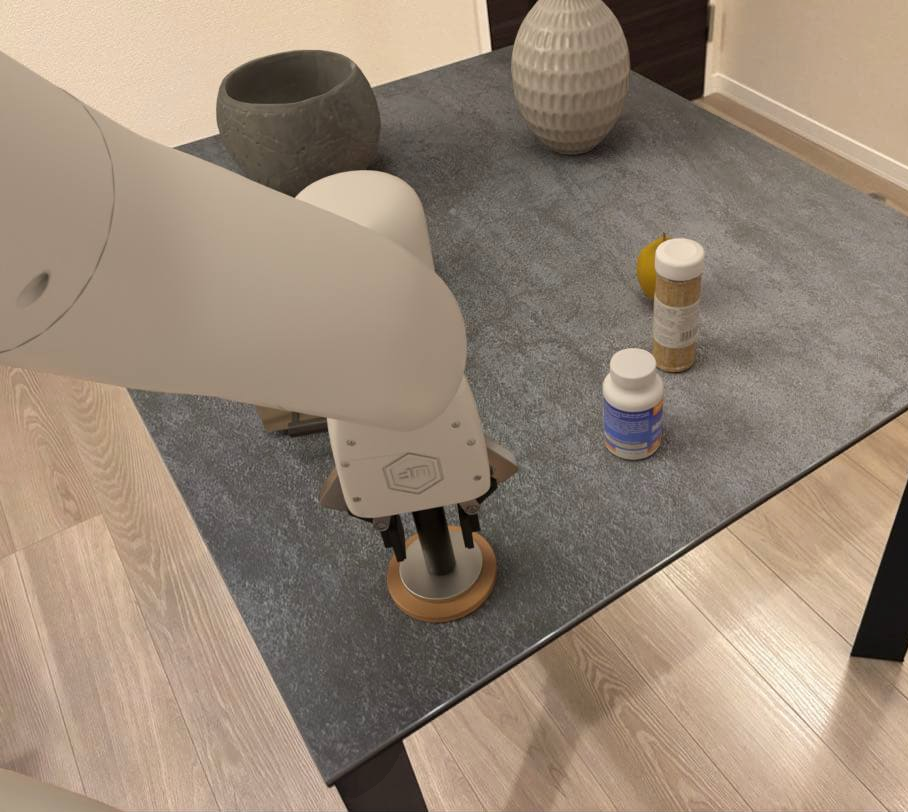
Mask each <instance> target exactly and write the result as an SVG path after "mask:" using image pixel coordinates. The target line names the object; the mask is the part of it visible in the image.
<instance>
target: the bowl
mask: <svg viewBox="0 0 908 812" xmlns="http://www.w3.org/2000/svg"><path fill="white" fill-rule="evenodd" d="M215 103H216V104H215V117H216V119H215V120H216V125H217V129H218V132H219V136H220V139H221V141H222V143H223V146H224V147H225V149H226V151H227V153H228V154H229V156H230V158H231V159H232V161H233V162H234V163H235V164H236V165H237V167H238V168H239V170H241V171H242V173H243V174H244V175H245V176H246V178H248V179H250V180H252V181H254V182H257V183H259V184H261V185H264V186H266V187H269V188H271V189H273V190H276V191H278V192H281V193H283V194H286V195H288V196H291V197H293V198H295V197H296V196H297V195H298V194H299V193H300V192H301V191H302V190H304V189H305V188H306V187H307V186H309V185H311V184H312V183H314V182H316V181H318V180H320V179H322V178H325V177H328V176H331V175H334V174H338V173H343V172H348V171H358V170H367V168H368V167H369V165H370V164H371V162H372V160H373V158H374V156H375V154H376V152H377V149H378V146H379V142H380V137H381V131H382V122H381V116H380V110H379V105H378V101H377V98H376V96H375V93H374V90H373V88H372V85H371V83H370V82H369V80H368V78H367V77H366V76H365V74H364V72H363V71H362V69H361V68H360V67H359V66H358V64H357V63H355V62H354V61H353V60H352V59H351V58H350V57H348V56H346V55H345V54H342V53H339V52H334V51H329V50H324V49H294V50H287V51H282V52H277V53H272V54H268V55H264V56H260V57H257V58H254V59H252V60H249V61H247V62H244V63H243V64H240V65H239V66H237V67H236V68H234V69H233V70H231V71H230V72H229V73H228V74H226V75H225V76H224V78H223V79H222V81H221V82H220V85H219V88H218V91H217V96H216V102H215Z"/></svg>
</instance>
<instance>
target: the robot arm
mask: <svg viewBox="0 0 908 812" xmlns="http://www.w3.org/2000/svg"><path fill="white" fill-rule="evenodd" d="M433 258H434V257H433V253H432V247H431V241H430V236H429V230H428V225H427V219H426V215H425V210H424V207H423V203H422V201H421V199H420V197H419V196H418V194H417V192H416V191H415V189H414V188H413V187H411V185H409V184H408V183H407V182H406V181H405V180H403V179H402V178H400V177H399V176H395V175H393V174H390V173H388V172H383V171H378V170H370V169H369V170H367V169H365V170H358V171H348V172H343V173H338V174H334V175H331V176H328V177H325V178H322V179H320V180H318V181H316V182H314V183H312V184H311V185H309V186H307V187H306V188H305V189H304V190H302V191H301V192H300V193H299V194H298V195H297V196H296V197H291V196H288V195H286V194H283V193H281V192H278V191H276V190H273V189H271V188H269V187H266V186H264V185H261V184H259V183H257V182H254V181H252V180H251V179H250V178H248V177H245V176H243V175H241V174H239V173H236V172H234V171H232V170H229V169H227V168H225V167H223V166H220V165H218V164H215V163H213V162H210V161H207V160H205V159H202V158H200V157H197V156H196V155H193V154H190V153H187V152H184V151H181V150H178V149H176V148H173V147H171V146H167V145H165V144H162V143H159V142H157V141H154V140H153V139H150V138H147V137H145V136H144V135H140V134H138V133H137V132H135V131H133V130H131V129H130V128H128V127H126V126H124V125H123V124H122V123H121V124H120V123H119V122H117V121H115V120H114V119H112V118H111V117H109V116H107V115H105V114H104V113H102V112H100V111H99V110H97V109H95V108H94V107H92V106H90V105H88V104H87V103H86V102H84V101H83V100H81V99H80V98H78V97H76V96H75V95H73V94H71V93H70V92H68V91H67V90H65V89H63V88H62V87H59V86H58V85H56V84H55V83H53V82H52V81H51V80H48V79H46V78H45V77H44V76H42V75H41V74H39V73H37V72H35V71H34V70H32V69H31V68H29V67H27V66H26V65H24V64H22V63H21V62H19V61H18V60H16V59H14V58H13V57H11V56H10V55H9V54H8V53H5V52H4V51H2V50H0V365H2V366H6V367H11V368H15V369H21V370H27V371H31V372H38V373H42V374H49V375H54V376H59V377H60V376H61V377H64V378H65V377H67V378H72V379H76V380H81V381H86V382H93V383H98V384H103V385H109V386H113V387H114V386H115V387H118V388H119V387H120V388H126V389H132V390H133V389H134V390H141V391H147V392H148V391H149V392H157V393H166V394H167V393H168V394H180V395H190V396H191V395H192V396H203V397H211V398H212V397H213V398H219V399H222V400H226V401H231V402H238V403H243V404H248V405H253V406H255V405H258V406H263V407H268V408H273V409H278V410H284V411H289V412H298V413H304V414H309V415H315V416H320V417H325V418H327V423H328V437H329V441H330V447H331V451H332V452H331V453H332V455H333V456H332V457H333V460H334V463H335V464H334V467H333V468H332V470H331V471H330V472H329V474H328V476H327V477H326V479H325V480H324V481H323V483H322V485H321V486H320V488H319V490H318V494H319V495H318V503H319V506H320V507H322V508H325V509H329V510H334V511H338V512H342V513H343V512H347V515H349V516H350V517H353V518H356V519H359V520H361V521H363V522H367V523H369V524H371V525H372V529H373V530H374V531H376V532H379V534H380V537H381V539H382V542H383V545H384V549H391V548H392V551H393V553H394V554H395V556H396V560H397V562H402V561H404V559H406V546H405V541H406V537H405V528H404V525H403V521H402V518H401V515H402V514H407V513H412V512H413V511H419V510H424V509H430V508H435V507H440V506H443V507H444V506H450V505H456V507H457V513H458V520H459V525H460V527H461V531H462V535H463V540H464V545H465V548H468V549H472V548H474V542H473V536H472V532H476V533H478V532H481V531H482V530H481V524H480V519H479V513H480V512H481V504H482V503H483V502H485V501H486V500H487V499H488V498H489V497H490V496H491V495H493V493H495V492H496V490H497V489H498V487H499V486H498V485H499V484H503V483H504V482H506V481H507V480H508V479H510V478H511V477H512V476H514V475H516V474H517V473H518V472H519V470H520V469H519V463H518V459H517V455H516V454H515V453H513V452H512V451H511V450H509V449H507V448H506V447H504V446H503V445H501V444H500V443H498V442H496V441H495V440H493V439H492V438H490V437H489V436H488V435H486V434H485V433H484V430H483V426H482V421H481V418H480V414H479V413H480V412H479V410H478V407H477V403H476V399H475V397H474V394H473V391H472V388H471V386H470V383H469V381H468V378H467V376H466V374H465V370H466V363H467V356H468V341H467V340H468V339H467V330H466V325H465V321H464V315H463V314H462V311H461V308H460V306H459V303H458V301H457V299H456V297H455V296H454V294H453V292H452V291H451V289H450V288H449V286H448V285H447V284H446V282H445V281H444V280H443V279H442V278H441V276H439V275H438V274H437V273H436V270H435V263H434V259H433ZM0 812H126V811H125V810H123V809H120V808H118V807H116V806H113V805H111V804H108V803H106V802H103V801H101V800H97V799H95V798H92V797H90V796H88V795H84V794H81V793H79V792H76V791H74V790H70V789H67V788H65V787H61V786H59V785H55V784H53V783H49V782H47V781H44V780H41V779H38V778H35V777H32V776H29V775H26V774H23V773H20V772H17V771H15V770H10V769H6V768H1V767H0Z"/></svg>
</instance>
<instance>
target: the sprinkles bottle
mask: <svg viewBox="0 0 908 812" xmlns="http://www.w3.org/2000/svg"><path fill="white" fill-rule="evenodd" d="M705 261H706V250H705V249H704V247H703V246H702V245H701V244H700V243H699V242H697V241H695V240H692V239H689V238H683V237H679V238H678V237H677V238H676V237H675V238H673V239H670V240H667V241H665V242H663V243H661V244H660V245H659V246H658V247H657V249H656V254H655V269H656V289H655V295H654V301H653V318H652V320H653V321H652V336H653V337H652V350H651V354H652V355H653V356H654V358H655V360H656V368H658V369H659V370H662V371H663V372H667V373H679V372H680V373H681V372H684V371H686V370H688V369H689V368H691V367H692V366H693V365H694V363H695V360H696V353H695V349H696V341H697V340H696V339H697V336H698V328H699V318H700V305H701V296H702V295H701V285H702V284H701V283H702V275H703V272H704V270H705Z"/></svg>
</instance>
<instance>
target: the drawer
mask: <svg viewBox="0 0 908 812" xmlns="http://www.w3.org/2000/svg"><path fill="white" fill-rule="evenodd" d="M254 407H255V409H256V411H257V414H258V416H259V419H260V421H261V423H262V426H263V428H264V430H265V432H266V433H270V432H277V431H283V430H287V431H288V436H289V437H290V438H291V439H294V438H299V437H304V436H310V435H311V436H312V435H316V434H321V433H326V432H327V433H329V431H328V423H327V418H325V417H320V416H315V415H309V414H304V413H298V412H289V411H284V410H278V409H273V408H268V407H263V406H258V405H254Z"/></svg>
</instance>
